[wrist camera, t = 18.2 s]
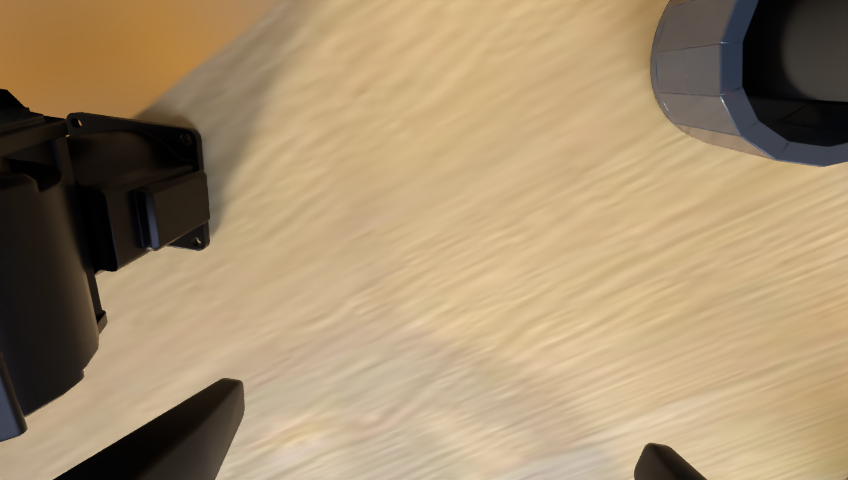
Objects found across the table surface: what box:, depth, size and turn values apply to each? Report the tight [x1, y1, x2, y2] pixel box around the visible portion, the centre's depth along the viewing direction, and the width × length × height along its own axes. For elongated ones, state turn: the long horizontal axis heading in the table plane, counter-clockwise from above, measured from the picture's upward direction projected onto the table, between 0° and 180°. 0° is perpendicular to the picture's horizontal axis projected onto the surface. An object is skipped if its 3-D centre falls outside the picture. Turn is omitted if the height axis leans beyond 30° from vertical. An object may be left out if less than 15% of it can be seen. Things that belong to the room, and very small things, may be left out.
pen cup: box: [650, 0, 848, 167], centre depth 15 cm, size 8×8×5 cm
